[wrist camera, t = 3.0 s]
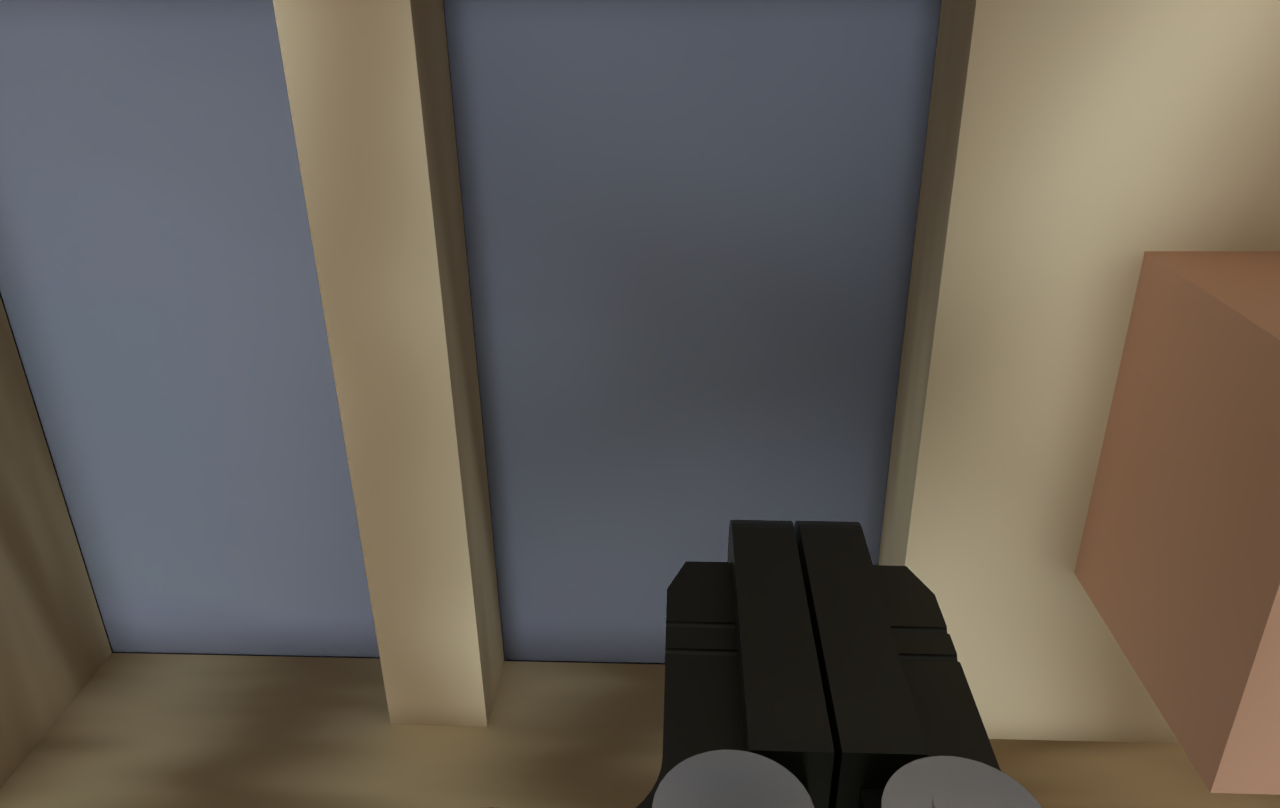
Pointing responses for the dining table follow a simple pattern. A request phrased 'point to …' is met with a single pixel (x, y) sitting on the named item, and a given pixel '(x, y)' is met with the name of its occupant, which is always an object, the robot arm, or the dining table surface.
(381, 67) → the trap lane
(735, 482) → the dining table surface
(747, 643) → the robot arm
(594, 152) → the dining table surface
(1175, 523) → the block
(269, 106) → the dining table surface
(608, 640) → the dining table surface
